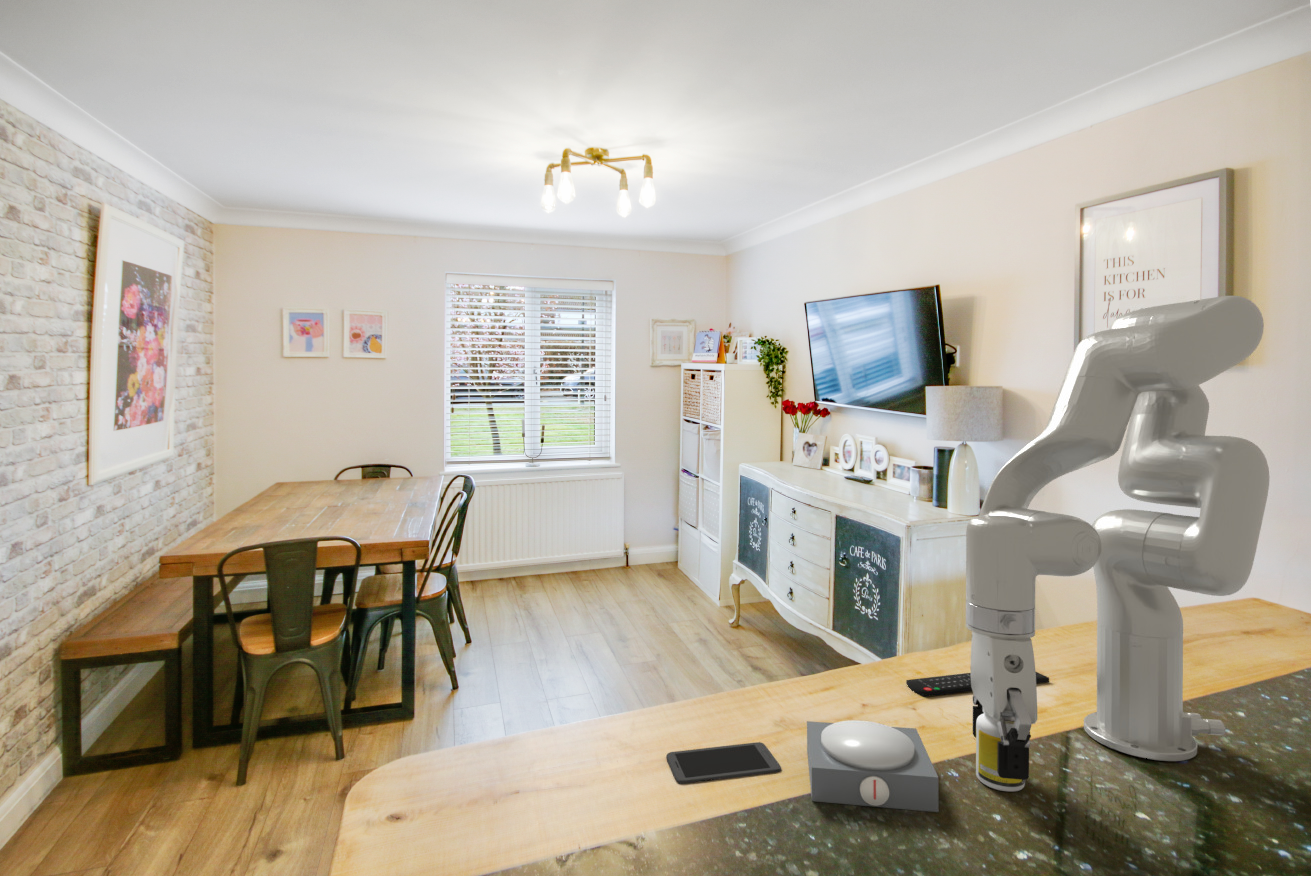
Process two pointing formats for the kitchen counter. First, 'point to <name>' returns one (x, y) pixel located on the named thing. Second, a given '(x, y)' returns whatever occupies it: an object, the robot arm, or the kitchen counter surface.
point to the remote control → (949, 684)
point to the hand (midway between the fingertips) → (998, 756)
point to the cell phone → (721, 762)
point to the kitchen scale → (870, 766)
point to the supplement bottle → (991, 754)
